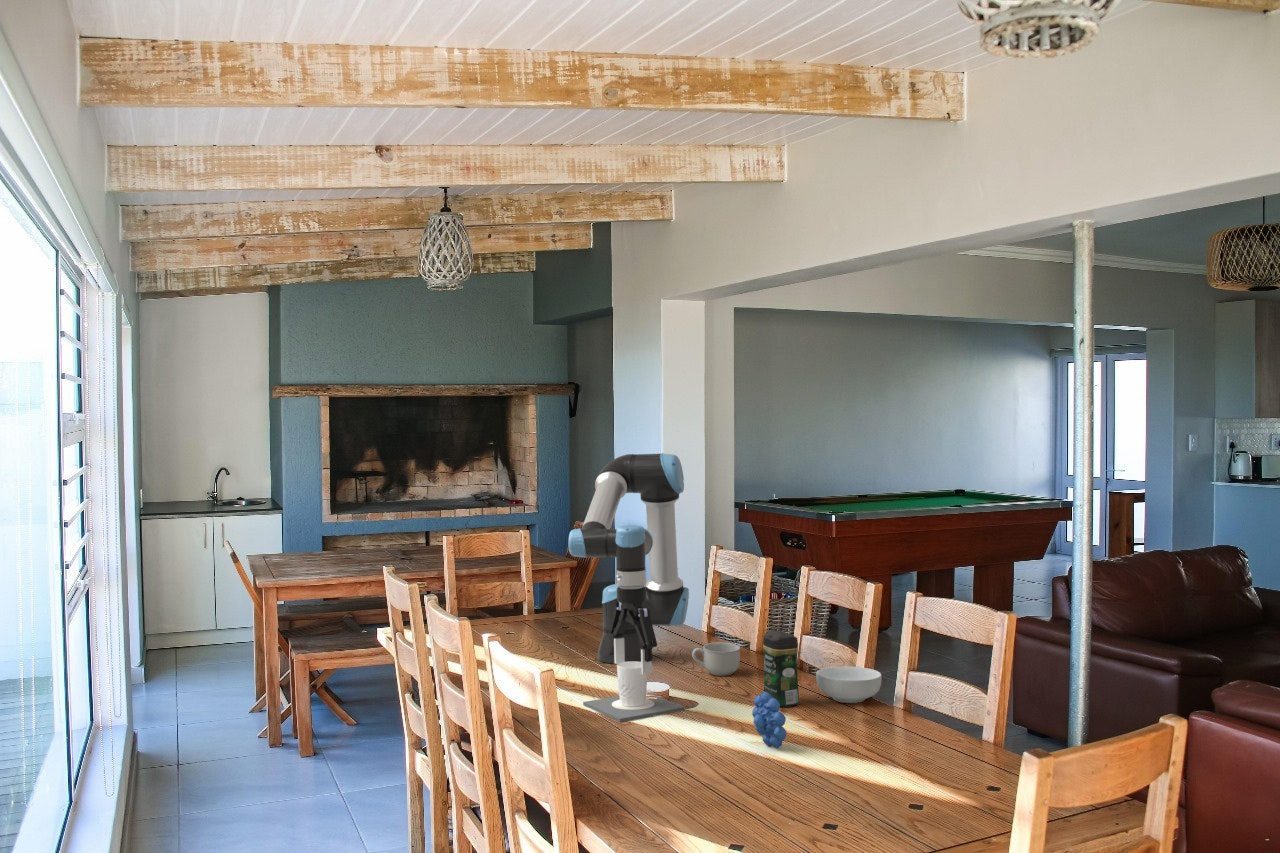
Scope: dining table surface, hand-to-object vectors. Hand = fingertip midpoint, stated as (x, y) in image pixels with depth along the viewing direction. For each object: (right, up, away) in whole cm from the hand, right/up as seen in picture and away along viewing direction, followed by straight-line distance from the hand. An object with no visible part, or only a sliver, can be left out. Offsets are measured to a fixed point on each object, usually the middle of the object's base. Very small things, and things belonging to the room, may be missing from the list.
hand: (632, 668), depth 278 cm
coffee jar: (+39, -10, +2) cm, 40 cm away
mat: (0, -10, 0) cm, 10 cm away
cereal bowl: (+57, -9, +5) cm, 58 cm away
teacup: (+24, -10, +35) cm, 44 cm away
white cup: (0, -9, 0) cm, 9 cm away
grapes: (+30, -10, -35) cm, 47 cm away
